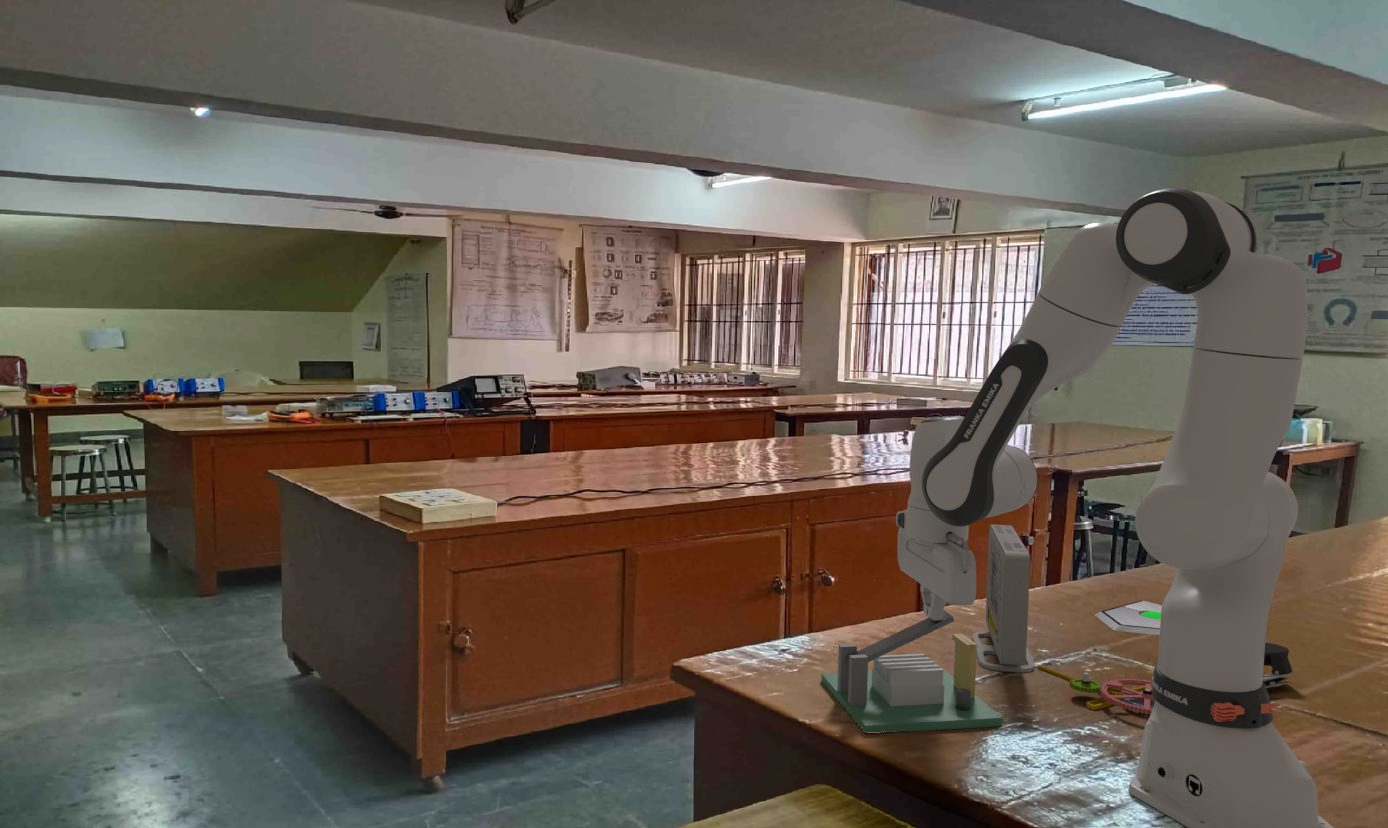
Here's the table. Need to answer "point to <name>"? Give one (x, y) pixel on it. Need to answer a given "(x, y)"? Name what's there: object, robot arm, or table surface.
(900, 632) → the strap
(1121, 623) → the security device
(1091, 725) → the table surface
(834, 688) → the board
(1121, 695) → the mechanical gear assembly
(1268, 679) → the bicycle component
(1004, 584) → the network device
